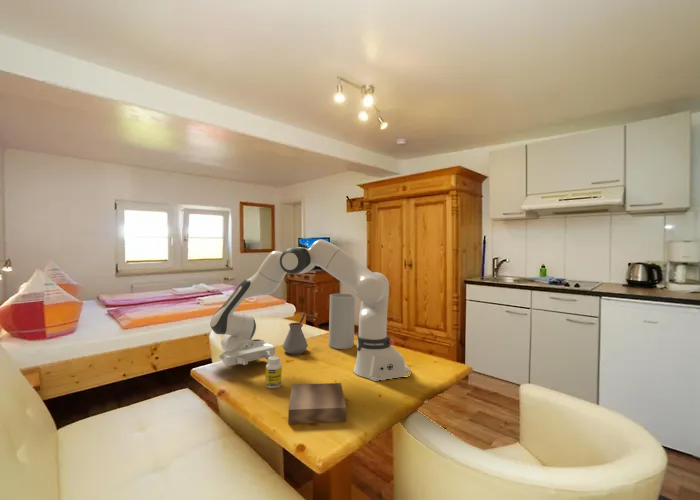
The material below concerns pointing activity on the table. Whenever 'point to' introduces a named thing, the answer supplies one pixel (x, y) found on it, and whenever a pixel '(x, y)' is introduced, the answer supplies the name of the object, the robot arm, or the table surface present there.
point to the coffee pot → (295, 339)
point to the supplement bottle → (273, 372)
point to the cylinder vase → (341, 321)
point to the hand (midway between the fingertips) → (258, 359)
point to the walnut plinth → (316, 403)
